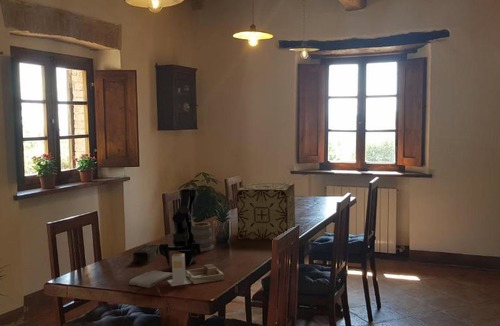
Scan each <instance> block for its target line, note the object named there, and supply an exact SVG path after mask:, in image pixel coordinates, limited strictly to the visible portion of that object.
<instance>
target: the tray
mask: <svg viewBox="0 0 500 326" xmlns="http://www.w3.org/2000/svg"><path fill="white" fill-rule="evenodd" d="M185 274H186V278H188V279H189V281H190V282H191V283H192V284H193V285H195V284H196V285H197V284H202V283H203V284H204V283H210V282H216V281H217V282H218V281H223V280H224V281H225V274H224V272H222V271H221V270H220V269H219V268H217V275H210V276H206V275H205V274H204V267H200V268H192V269H185Z"/></svg>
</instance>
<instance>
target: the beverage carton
mask: <svg viewBox="0 0 500 326" xmlns="http://www.w3.org/2000/svg"><path fill="white" fill-rule="evenodd" d="M158 255H159V245H158V244H149V243H147V244H144V245H142V246H140V248H138V249H136V250H135V251H134V252H132V258H133V261H132V263H133V265H148V264H150V263H151V262H152V261H153V260H154V259H156V257H158Z"/></svg>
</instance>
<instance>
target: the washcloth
mask: <svg viewBox="0 0 500 326" xmlns="http://www.w3.org/2000/svg"><path fill="white" fill-rule="evenodd" d="M171 277H173V275H172V272H167V271H166V272H165V271H162V270H151V271H146V272H144V273H142V274H140V275H139V274H138V275H137V276H134V277H132V278H131V279H130V280H129V281H128V283H129V285H131V286H135V285H137V287H141V288H147V289H149V288H153V287H155V286H156V285H158V284H159V283H161V282H164V281H165V280H167V279H169V278H171Z"/></svg>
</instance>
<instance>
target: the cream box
mask: <svg viewBox="0 0 500 326" xmlns="http://www.w3.org/2000/svg"><path fill="white" fill-rule="evenodd" d="M171 270H172V272H171V273H172V280H173V284H180V283H185V280H186V278H187V276H186V265H185V254H182V253H173V254H172V256H171Z"/></svg>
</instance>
